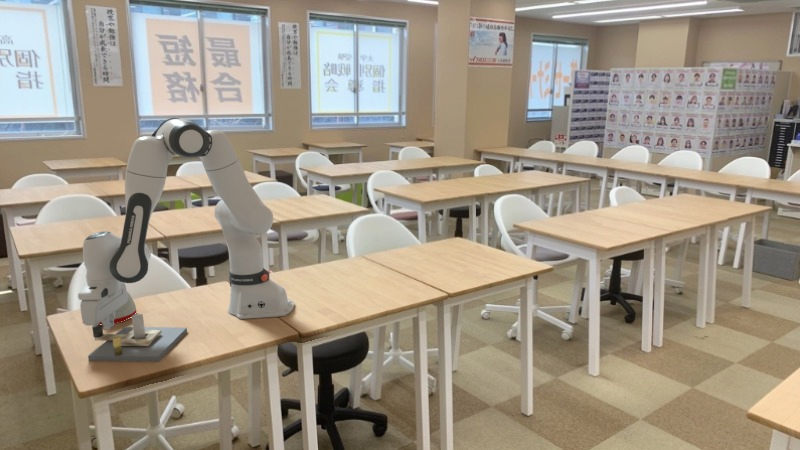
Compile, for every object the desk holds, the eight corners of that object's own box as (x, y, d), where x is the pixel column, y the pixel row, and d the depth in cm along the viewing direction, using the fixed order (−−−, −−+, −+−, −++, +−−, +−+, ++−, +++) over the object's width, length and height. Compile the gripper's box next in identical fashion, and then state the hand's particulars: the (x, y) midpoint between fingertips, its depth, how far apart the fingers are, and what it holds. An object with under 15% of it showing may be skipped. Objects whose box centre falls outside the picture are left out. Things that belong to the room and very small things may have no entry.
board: (187, 331, 175) (184, 303, 173) (158, 361, 155) (155, 330, 153) (124, 331, 175) (121, 303, 173) (88, 360, 156) (84, 329, 154)
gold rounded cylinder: (123, 352, 157) (121, 336, 156) (120, 355, 155) (118, 339, 154) (117, 352, 157) (114, 336, 156) (113, 355, 155) (111, 339, 154)
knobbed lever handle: (161, 333, 169) (160, 321, 168) (147, 346, 160) (146, 333, 159) (102, 332, 170) (101, 320, 169) (85, 345, 161) (84, 332, 160)
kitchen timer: (82, 318, 185) (76, 276, 182) (122, 306, 197) (117, 265, 193) (105, 328, 178) (99, 284, 174) (144, 314, 189) (140, 272, 186)
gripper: (111, 274, 177) (116, 314, 180) (74, 296, 157) (80, 341, 161) (130, 274, 177) (135, 314, 180) (96, 296, 157) (102, 341, 161)
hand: (109, 327), depth 170 cm, fingers closed
